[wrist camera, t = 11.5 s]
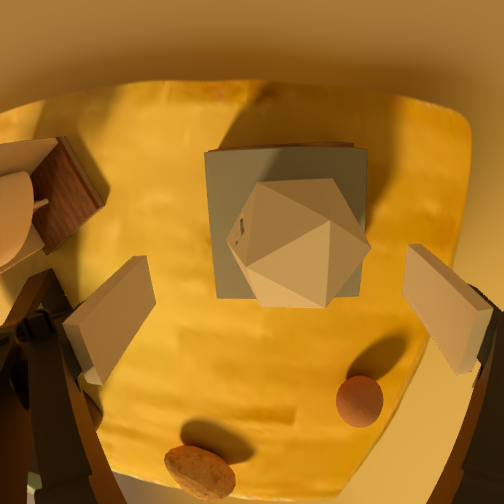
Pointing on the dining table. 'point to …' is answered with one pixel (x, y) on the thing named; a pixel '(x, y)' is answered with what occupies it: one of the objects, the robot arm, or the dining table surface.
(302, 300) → the die
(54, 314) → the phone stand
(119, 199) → the dining table surface
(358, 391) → the egg
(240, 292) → the block
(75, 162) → the display case
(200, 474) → the potato
